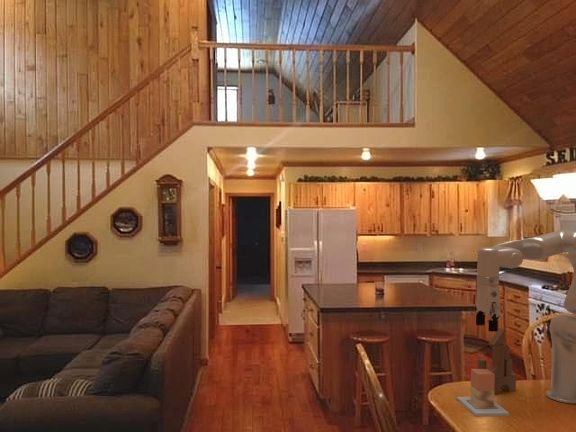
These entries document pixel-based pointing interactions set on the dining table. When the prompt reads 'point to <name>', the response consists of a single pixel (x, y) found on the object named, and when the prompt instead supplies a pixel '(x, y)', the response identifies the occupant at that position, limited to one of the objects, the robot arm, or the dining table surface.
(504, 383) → the wooden toy
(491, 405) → the birch block
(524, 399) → the dining table surface
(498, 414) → the board
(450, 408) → the dining table surface
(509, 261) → the robot arm
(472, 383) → the rust block
